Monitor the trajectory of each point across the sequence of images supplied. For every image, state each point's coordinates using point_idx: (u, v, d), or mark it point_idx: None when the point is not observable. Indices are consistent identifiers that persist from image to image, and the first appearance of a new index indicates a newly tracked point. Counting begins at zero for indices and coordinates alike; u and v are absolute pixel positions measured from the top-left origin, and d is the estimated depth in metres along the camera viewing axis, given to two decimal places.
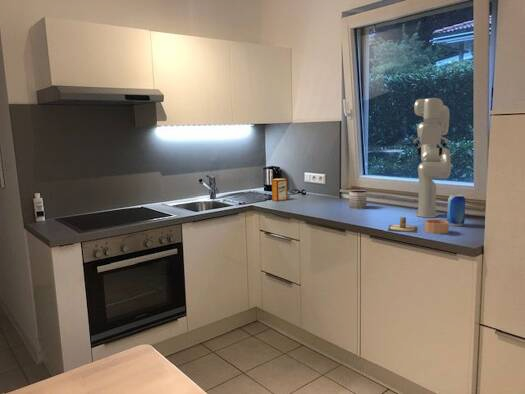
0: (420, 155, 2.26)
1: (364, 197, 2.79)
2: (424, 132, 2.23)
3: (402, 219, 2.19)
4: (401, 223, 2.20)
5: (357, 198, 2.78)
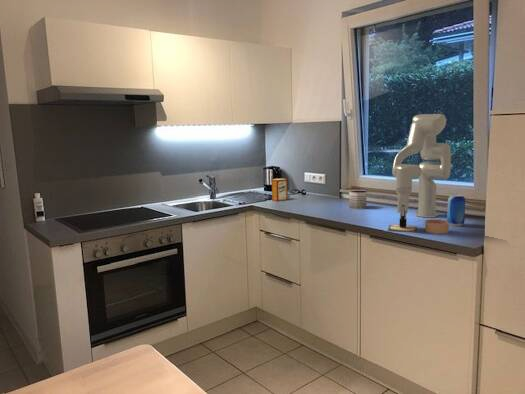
0: (405, 226, 2.19)
1: (364, 197, 2.79)
2: (408, 201, 2.15)
3: None
4: None
5: (357, 198, 2.78)
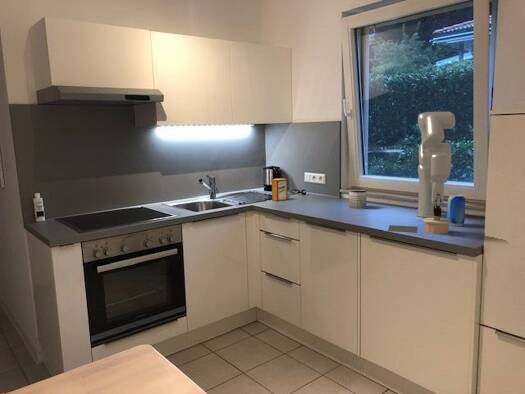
0: (440, 215, 2.09)
1: (364, 197, 2.79)
2: (443, 190, 2.08)
3: None
4: (435, 216, 2.13)
5: (357, 198, 2.78)
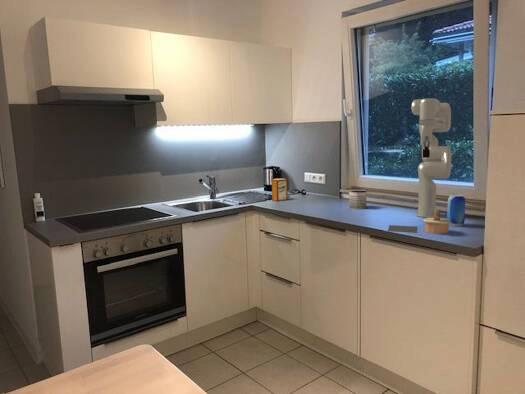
0: (429, 157, 2.18)
1: (364, 197, 2.79)
2: (431, 133, 2.18)
3: (436, 211, 2.12)
4: (435, 216, 2.13)
5: (357, 198, 2.78)
